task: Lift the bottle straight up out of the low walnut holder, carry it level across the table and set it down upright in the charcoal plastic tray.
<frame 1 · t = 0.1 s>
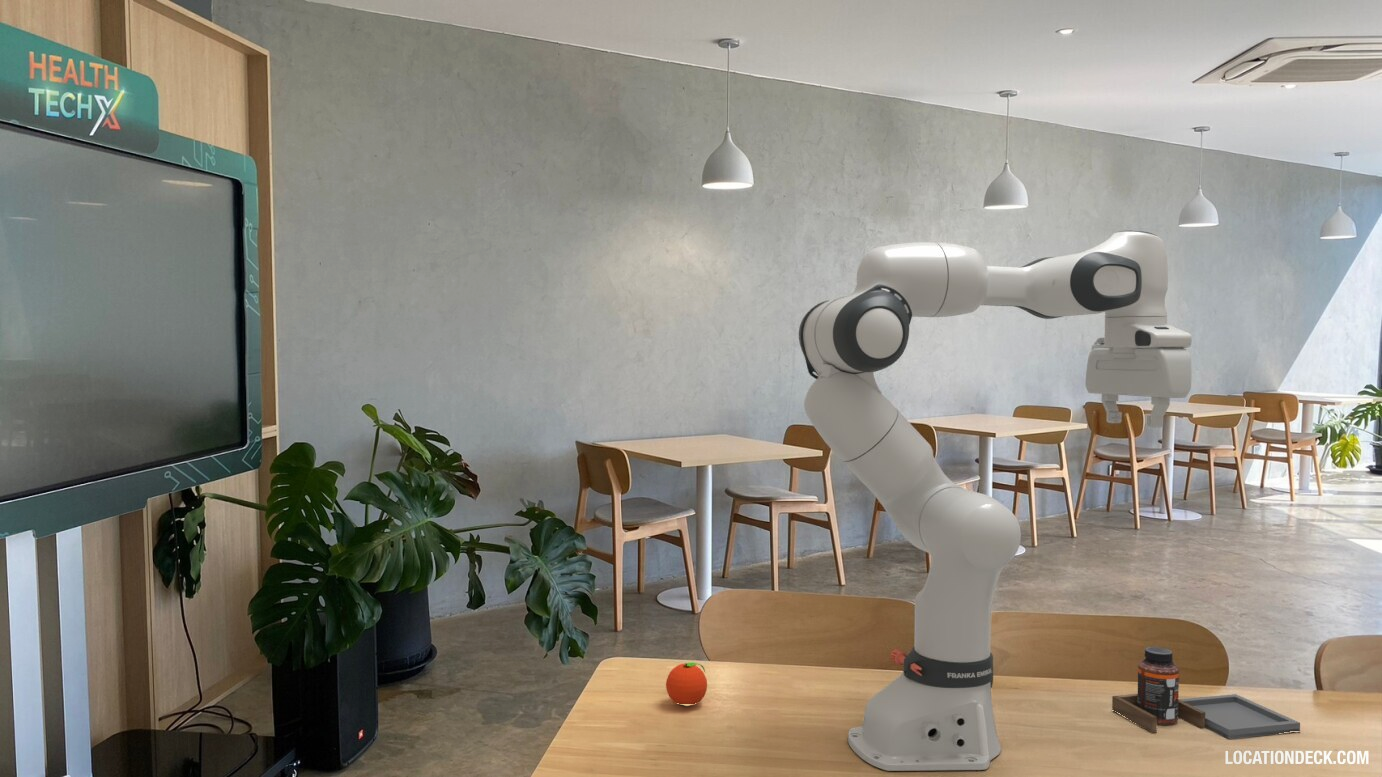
hand: (1133, 425, 150), 48 cm above the table, tool pointing down, fingers open, 8 cm apart
tray: (1232, 720, 154), on the table
supplement bottle: (1157, 720, 155), on the table
clementine: (688, 705, 161), on the table
holder: (1157, 719, 155), on the table
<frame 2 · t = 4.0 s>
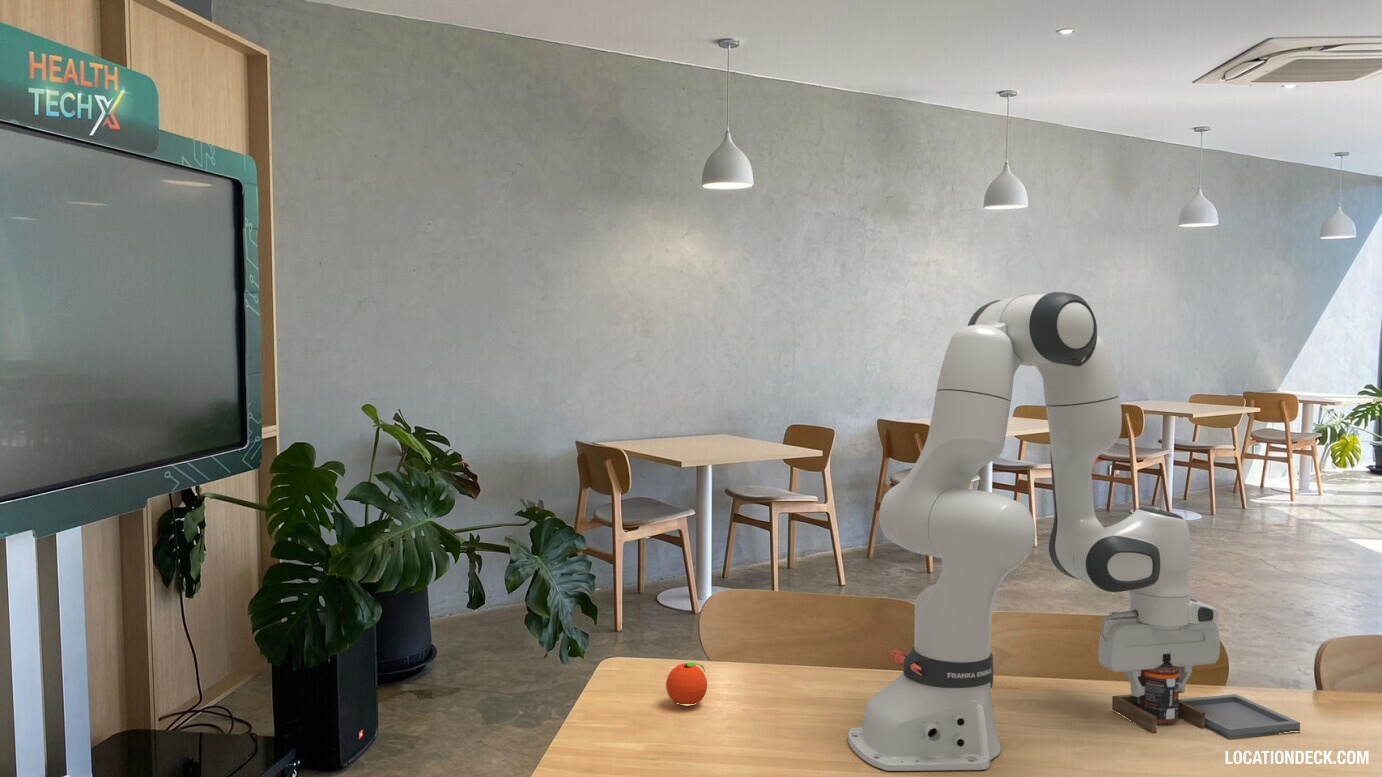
hand: (1157, 693, 155), 4 cm above the table, tool pointing down, fingers closed on supplement bottle, 6 cm apart
supplement bottle: (1157, 720, 155), on the table, touching gripper
everything else where it was.
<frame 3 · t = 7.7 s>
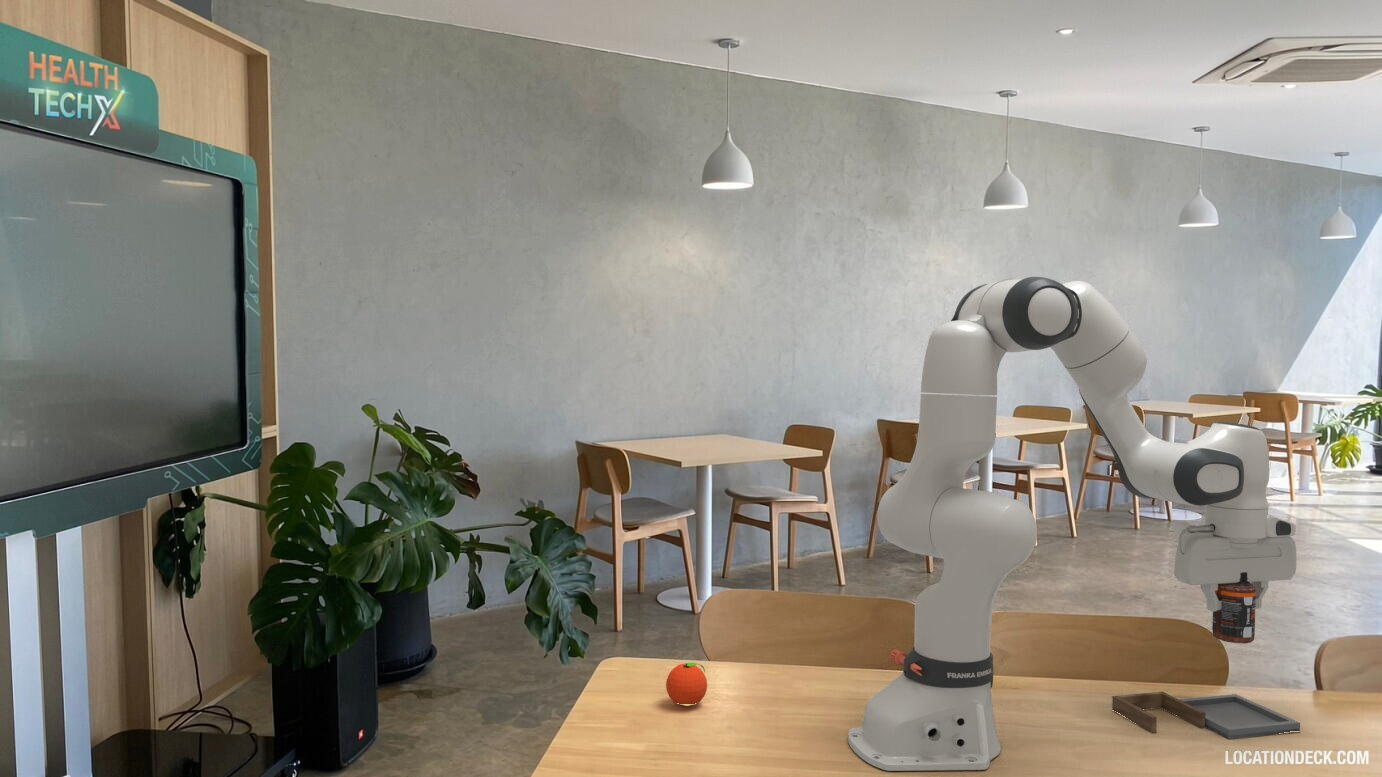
hand: (1234, 609, 154), 18 cm above the table, tool pointing down, fingers closed on supplement bottle, 6 cm apart
supplement bottle: (1233, 640, 154), point 13 cm above the table, touching gripper
everything else where it was.
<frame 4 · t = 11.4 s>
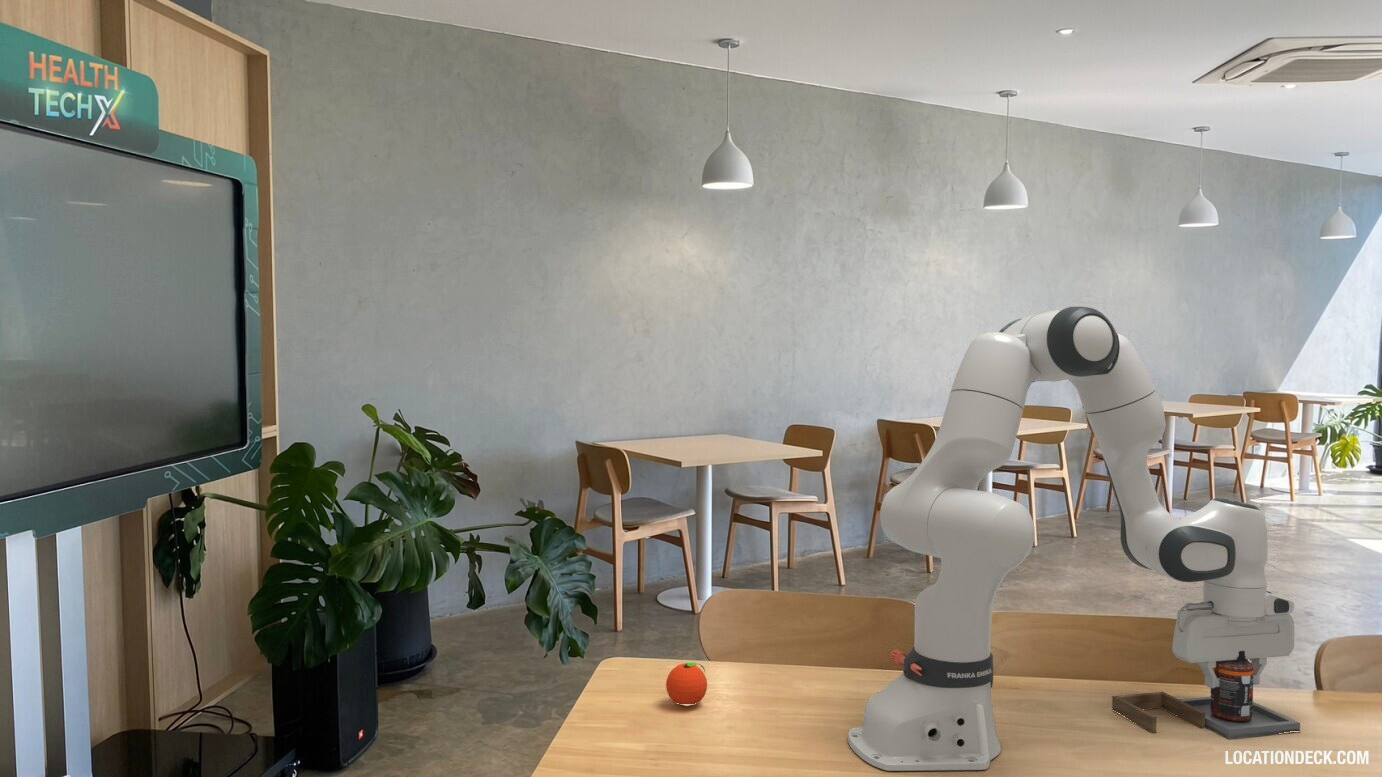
hand: (1232, 685, 154), 6 cm above the table, tool pointing down, fingers closed on supplement bottle, 6 cm apart
supplement bottle: (1231, 717, 154), resting on tray, touching gripper
everything else where it was.
when the fingers open (6 cm above the table, at t = 11.4 s): supplement bottle stays where it is, resting on tray.
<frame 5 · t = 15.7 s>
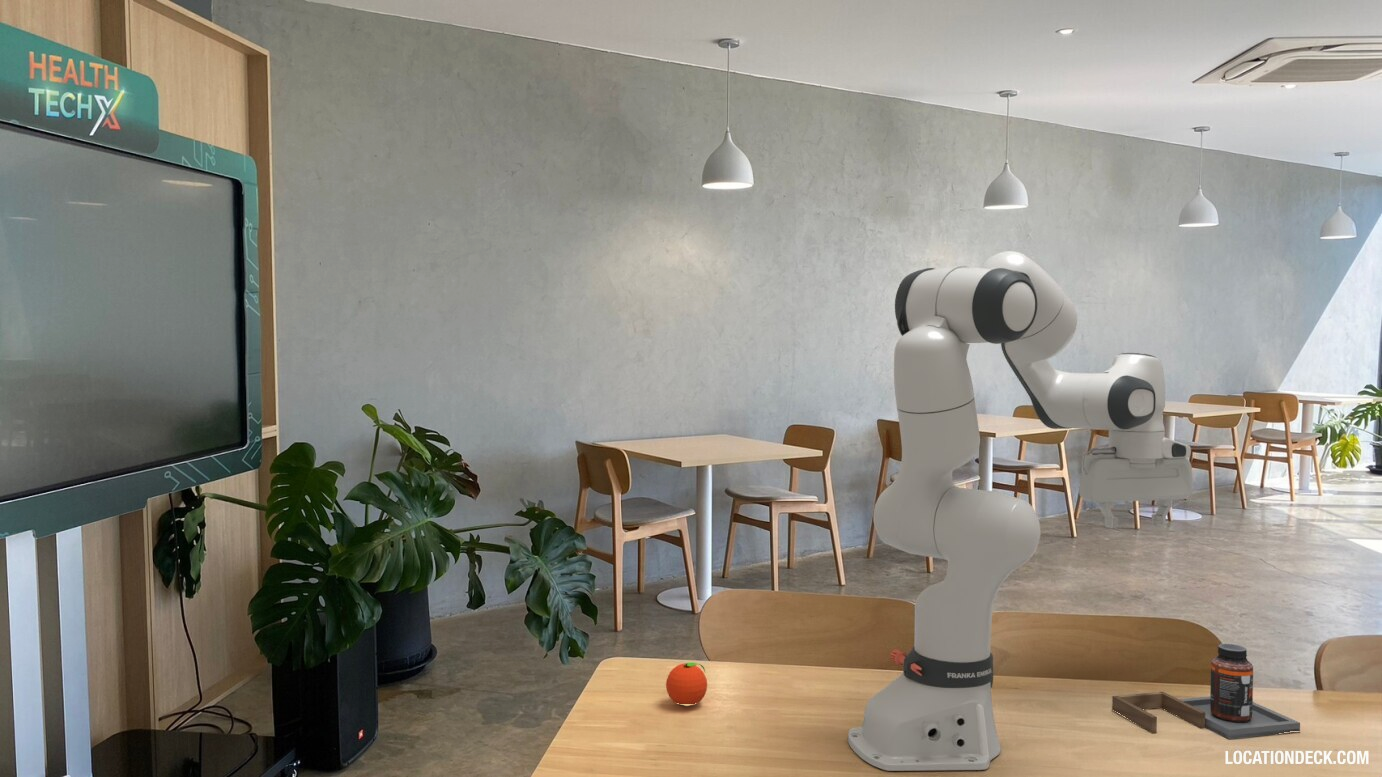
hand: (1135, 526, 166), 29 cm above the table, tool pointing down, fingers open, 8 cm apart
supplement bottle: (1231, 717, 154), resting on tray
everything else where it was.
at the end: supplement bottle inside the target area on the tray (0.2 cm from its centre), point 0.4 cm above the tray's base; supplement bottle tilted 0°; the gripper is holding nothing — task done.
